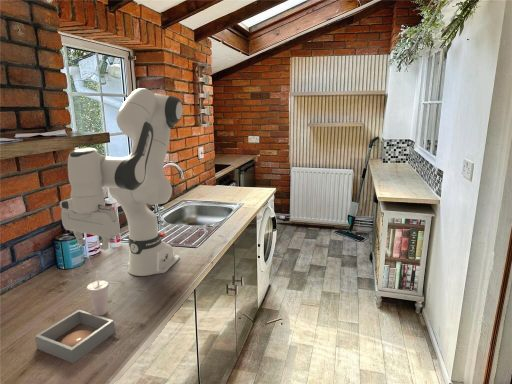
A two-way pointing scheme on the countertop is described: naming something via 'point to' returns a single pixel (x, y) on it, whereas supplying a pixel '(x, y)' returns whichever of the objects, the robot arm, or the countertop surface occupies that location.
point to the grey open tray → (82, 348)
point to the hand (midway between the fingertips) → (93, 246)
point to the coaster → (75, 337)
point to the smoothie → (98, 295)
